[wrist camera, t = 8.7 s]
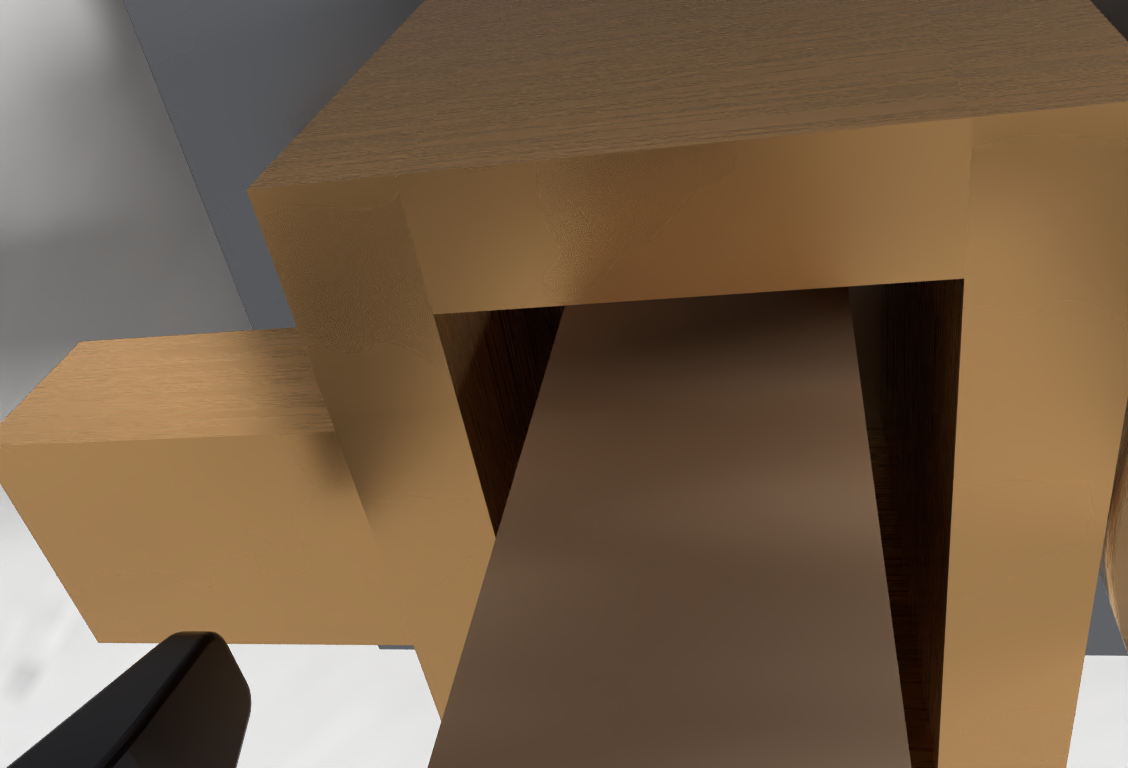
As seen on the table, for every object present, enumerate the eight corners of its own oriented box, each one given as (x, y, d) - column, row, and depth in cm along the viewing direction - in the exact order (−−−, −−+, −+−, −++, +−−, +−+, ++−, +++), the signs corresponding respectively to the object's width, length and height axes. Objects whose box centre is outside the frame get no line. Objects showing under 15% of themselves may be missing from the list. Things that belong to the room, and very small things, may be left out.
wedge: (822, 89, 13) (922, 857, 5) (836, 387, 15) (918, 1221, 7) (622, 114, 13) (407, 835, 5) (666, 397, 16) (568, 1179, 8)
